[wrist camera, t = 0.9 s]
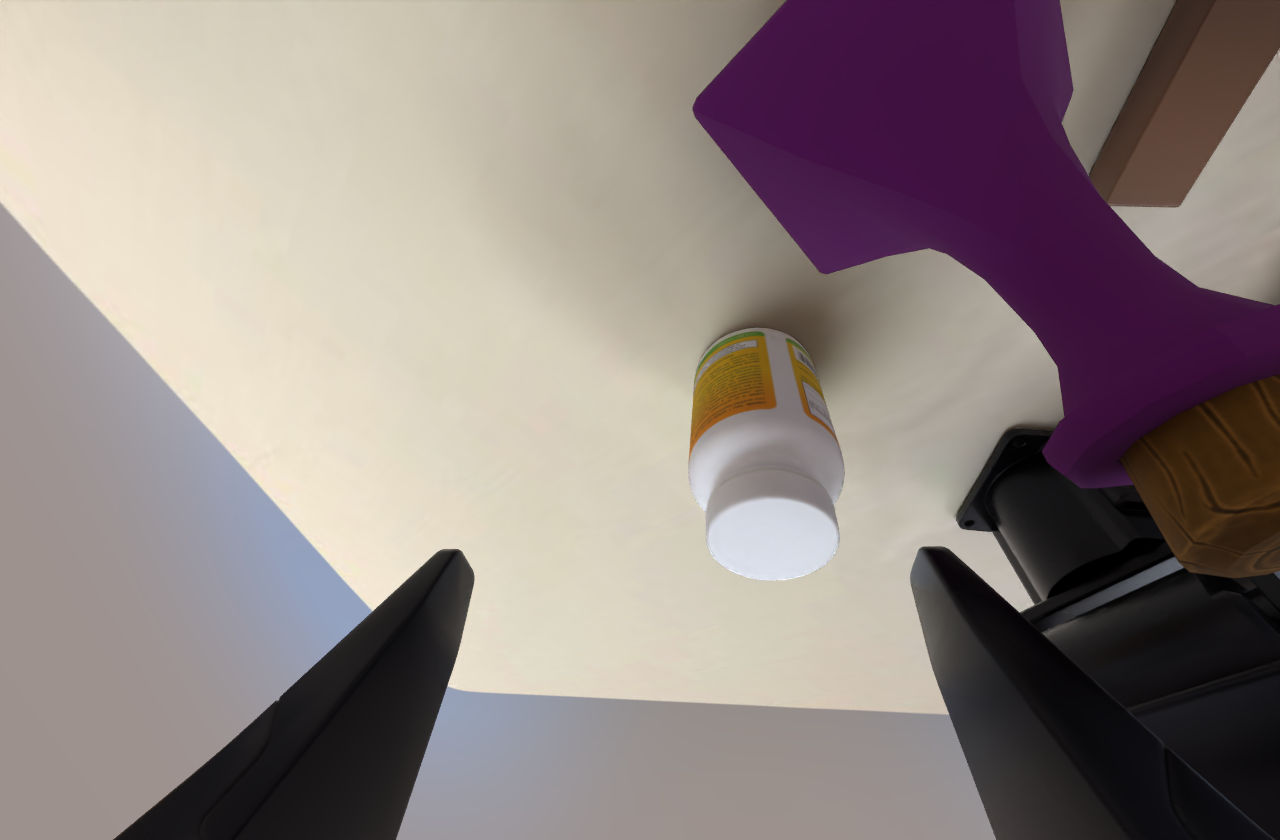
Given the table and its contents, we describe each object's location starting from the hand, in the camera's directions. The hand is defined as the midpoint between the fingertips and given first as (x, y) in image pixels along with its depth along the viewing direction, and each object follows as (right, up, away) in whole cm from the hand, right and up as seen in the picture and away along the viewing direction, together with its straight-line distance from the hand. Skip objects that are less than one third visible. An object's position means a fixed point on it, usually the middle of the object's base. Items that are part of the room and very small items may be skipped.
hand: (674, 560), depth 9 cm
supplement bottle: (+5, +5, +13) cm, 15 cm away
